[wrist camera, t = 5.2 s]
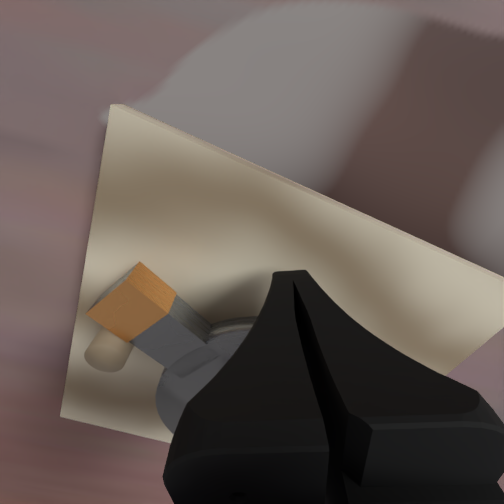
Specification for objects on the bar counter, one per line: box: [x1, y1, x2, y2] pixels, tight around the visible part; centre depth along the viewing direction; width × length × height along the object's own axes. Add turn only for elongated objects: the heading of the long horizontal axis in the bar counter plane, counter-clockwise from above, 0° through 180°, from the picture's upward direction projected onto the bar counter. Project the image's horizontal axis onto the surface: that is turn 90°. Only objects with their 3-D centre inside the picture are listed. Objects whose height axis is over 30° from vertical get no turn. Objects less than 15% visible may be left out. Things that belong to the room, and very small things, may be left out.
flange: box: [86, 261, 258, 434], centre depth 13 cm, size 14×10×1 cm
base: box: [60, 104, 504, 443], centre depth 14 cm, size 20×20×6 cm
